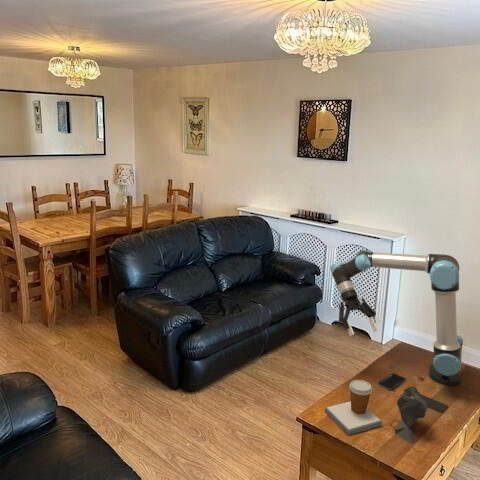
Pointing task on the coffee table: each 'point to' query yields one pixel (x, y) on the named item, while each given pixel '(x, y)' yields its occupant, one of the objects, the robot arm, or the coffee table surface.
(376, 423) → the plate
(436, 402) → the phone
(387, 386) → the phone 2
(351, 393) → the disposable coffee cup
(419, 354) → the coffee table surface
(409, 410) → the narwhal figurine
